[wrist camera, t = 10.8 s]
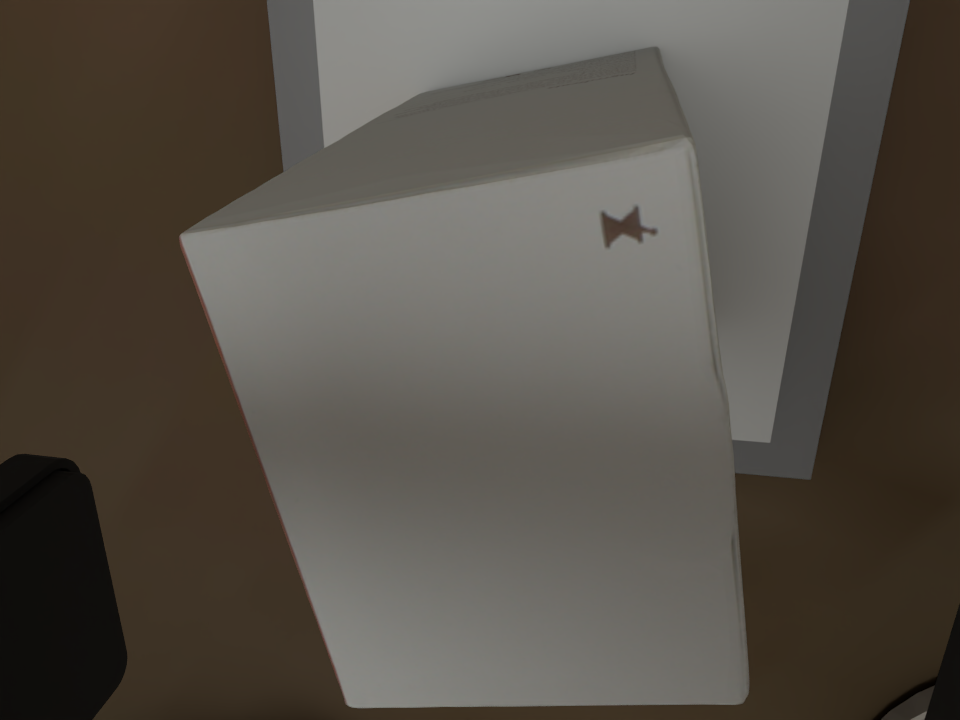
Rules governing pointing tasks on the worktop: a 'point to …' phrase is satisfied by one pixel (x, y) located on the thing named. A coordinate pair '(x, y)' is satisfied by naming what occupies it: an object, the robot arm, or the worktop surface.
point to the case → (715, 128)
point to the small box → (495, 394)
